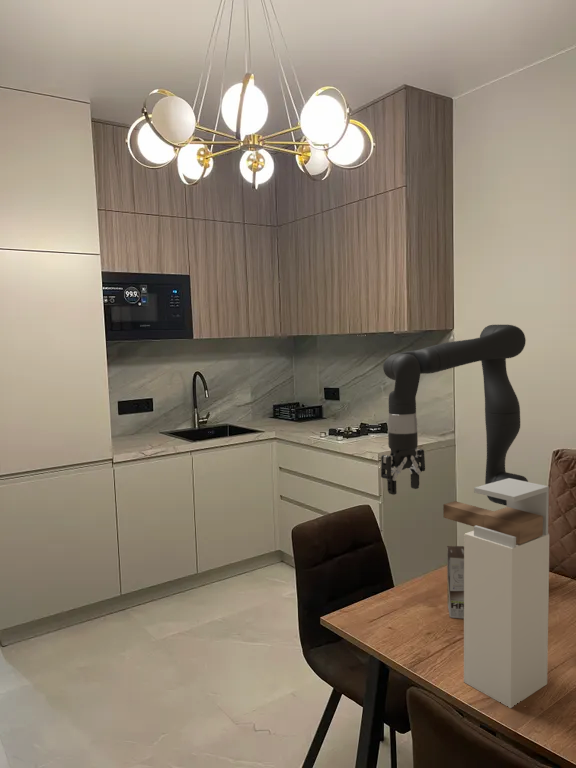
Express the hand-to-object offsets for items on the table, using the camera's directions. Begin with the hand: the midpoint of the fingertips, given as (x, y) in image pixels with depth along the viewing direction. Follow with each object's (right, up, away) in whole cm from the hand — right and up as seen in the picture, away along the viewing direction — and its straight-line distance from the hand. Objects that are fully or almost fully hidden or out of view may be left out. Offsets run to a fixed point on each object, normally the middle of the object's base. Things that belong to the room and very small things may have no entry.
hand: (403, 491), depth 154 cm
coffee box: (+15, -32, 0) cm, 35 cm away
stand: (+15, -34, -32) cm, 49 cm away
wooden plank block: (+12, -2, -31) cm, 33 cm away
